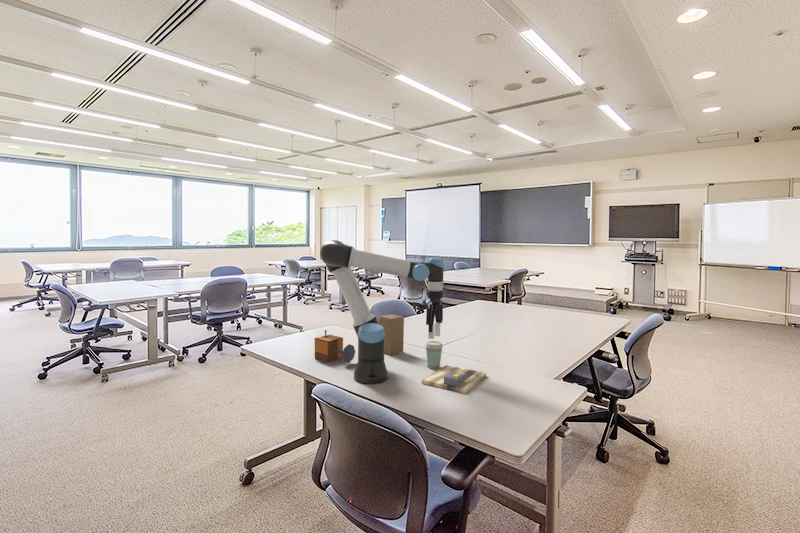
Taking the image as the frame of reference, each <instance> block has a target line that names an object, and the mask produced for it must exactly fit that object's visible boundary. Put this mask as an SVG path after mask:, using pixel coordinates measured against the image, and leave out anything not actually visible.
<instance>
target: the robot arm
mask: <svg viewBox="0 0 800 533" xmlns="http://www.w3.org/2000/svg"><path fill="white" fill-rule="evenodd" d="M319 254H320V255H319V256H320V258H321V261H322V262H323V263H324V264H325V265H326V268H327V270H328V273H329V274H331V275H333V276H334V278H335V280H336V282H337V284H338V287H339V289H340V291H341V295H343V296H342V297H343V298H344V300H345V303H346V305H347V308H348V309H349V312H350V314H351V316H352V318H353V323H352V326H353V330H354V331H355V333H356V336H357V339H358V340H357V355H358V356H357V363H356V367H355V369H354V372H353V380H355V382H358V383H360V384H372V385H373V384H379V383H382V382H385V381H386V382H387V380H388V377H389V373H388V372H389V371H388V369H387V365H386V363H385V353H384V336H385V331H384V327H383V326H381V325H379V320H378V319H377V317H376V315H375V314H374V313H371V311H370V309H369V306H368V304H367V301H366V300H365V297H364V294H363V293H362V290H361V287H360V285H359V284H358V283H359V282H358V280H357V278H356V276H355V274H354V272H353V269H352V267H354V268H358V269H363V270H367V271H373V272H378V273H382V274H387V275H392V276H396V277H402V278H407V279H410V280H415V281H418V282H424V281H426V280H427V298H428V299H429V303H426V316H425V317H426V319H425V325H426V326H428V339H430V340H434V339H435V337H441V324H443V320H444V317H443V315H444V312H443V310H444V307H443V306H444V301H443V300H442V299H443V298H444V291H443V290H444V267H445V265H444V259H442V258H439V257H438V258H437V257H435V258H434V257H431V258H430V257H429V258H428V259H427V261H425V262H420V261H419V262H418V261H416V262H415V261H410V260H406V259H401V258H397V257H391V256H388V255H387V256H386V255H381V254H378V253H372V252H368V251H363V250H359V249H355V247H354V246H351V245H346V244H345V243H343V241H339V240H337V239H334V240H333V239H332V240H328V241H326V242H325V243H324V244H323V245H322V246H321V248H320V253H319Z"/></svg>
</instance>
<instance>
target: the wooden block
mask: <svg viewBox="0 0 800 533" xmlns="http://www.w3.org/2000/svg"><path fill="white" fill-rule="evenodd" d="M378 323H379V325H381V326H383V327H384V331H385V336H384V352H385V353H384V354H386V353H387V354H386V355H388V354H390V355H389V356H392V355H391V354H393V355H396V354H395V353H397V354H400V353H399V352H401V353H404V338H405V336H404V334H405V333H404V332H405V331H404V330H405V317H404V316H403V315H399V314H393V313H390V314H384V315H379V318H378Z"/></svg>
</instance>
